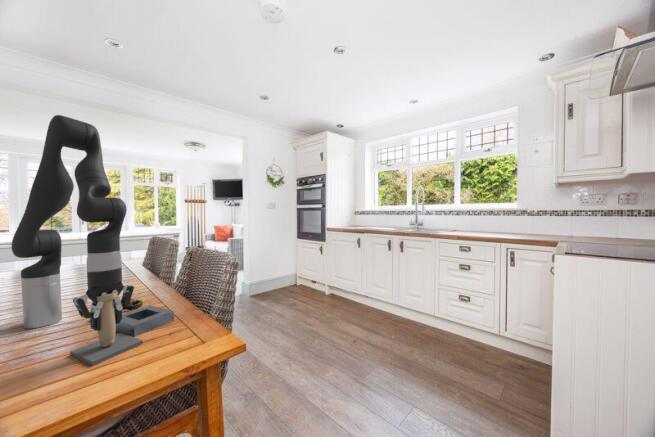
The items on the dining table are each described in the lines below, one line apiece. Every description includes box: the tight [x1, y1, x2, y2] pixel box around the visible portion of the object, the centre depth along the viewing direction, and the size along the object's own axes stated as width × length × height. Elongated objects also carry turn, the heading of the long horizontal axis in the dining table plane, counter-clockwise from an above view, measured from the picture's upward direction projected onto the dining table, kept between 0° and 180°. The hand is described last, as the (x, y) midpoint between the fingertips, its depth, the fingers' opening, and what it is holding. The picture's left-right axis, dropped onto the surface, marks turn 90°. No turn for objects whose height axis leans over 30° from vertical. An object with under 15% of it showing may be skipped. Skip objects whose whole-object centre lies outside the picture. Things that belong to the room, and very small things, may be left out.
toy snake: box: [122, 298, 144, 311], centre depth 102 cm, size 18×5×10 cm
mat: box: [69, 332, 144, 366], centre depth 74 cm, size 12×12×1 cm
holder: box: [116, 304, 175, 338], centre depth 90 cm, size 14×13×4 cm
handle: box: [97, 292, 117, 347], centre depth 74 cm, size 5×6×15 cm
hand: (106, 326), depth 74 cm, fingers open, 4 cm apart
